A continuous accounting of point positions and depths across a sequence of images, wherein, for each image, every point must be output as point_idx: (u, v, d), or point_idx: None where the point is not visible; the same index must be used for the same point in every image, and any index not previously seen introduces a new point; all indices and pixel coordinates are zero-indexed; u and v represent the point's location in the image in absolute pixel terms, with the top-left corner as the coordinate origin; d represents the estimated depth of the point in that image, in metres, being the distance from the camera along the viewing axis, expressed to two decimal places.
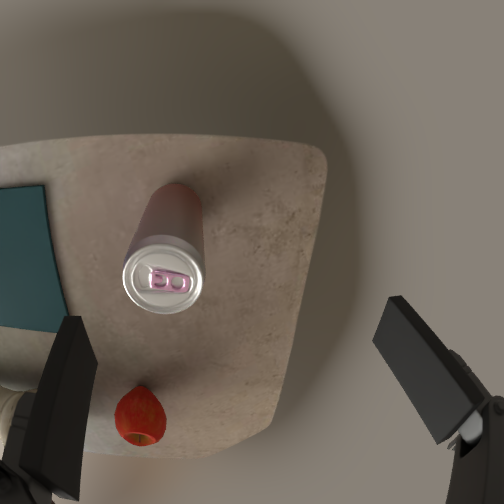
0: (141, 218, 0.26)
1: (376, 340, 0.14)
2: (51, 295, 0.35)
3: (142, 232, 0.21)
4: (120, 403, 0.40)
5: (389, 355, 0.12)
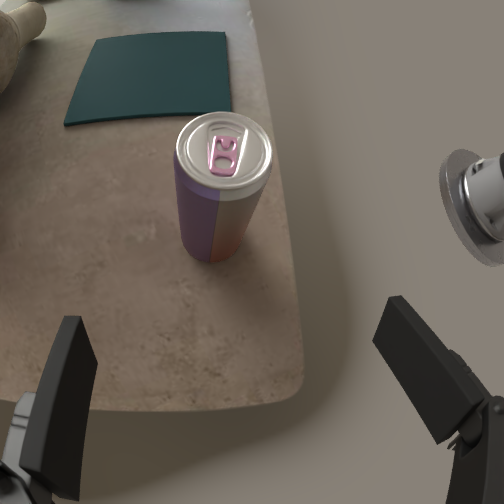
0: None
1: (376, 340, 0.14)
2: (113, 107, 0.33)
3: None
4: None
5: (389, 355, 0.12)
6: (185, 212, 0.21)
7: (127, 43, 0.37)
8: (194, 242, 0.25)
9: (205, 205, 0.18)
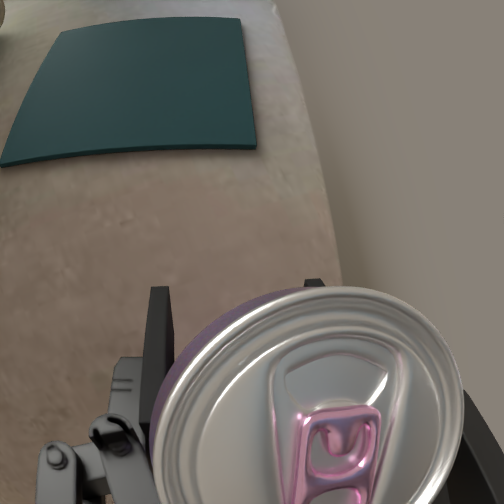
0: None
1: None
2: (68, 136, 0.20)
3: None
4: None
5: None
6: None
7: (100, 34, 0.24)
8: None
9: None
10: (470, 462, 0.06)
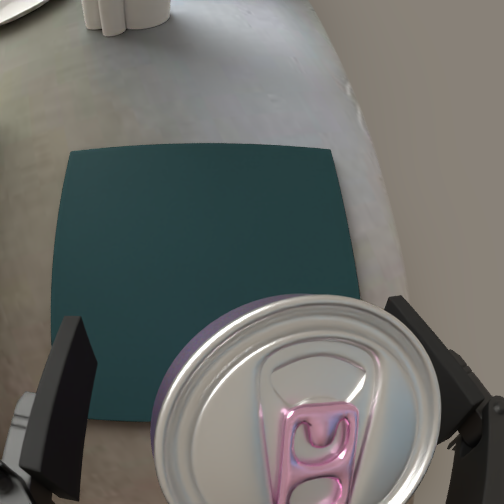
0: None
1: None
2: (151, 397, 0.17)
3: None
4: None
5: None
6: None
7: (137, 175, 0.21)
8: None
9: None
10: None
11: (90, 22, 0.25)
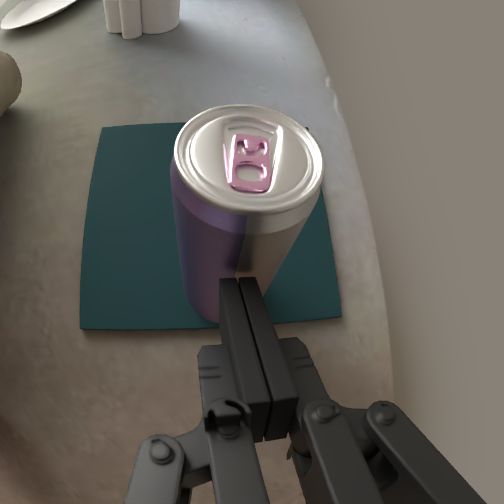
0: None
1: None
2: (159, 307, 0.23)
3: None
4: None
5: None
6: (189, 256, 0.14)
7: (156, 144, 0.27)
8: (202, 299, 0.18)
9: (220, 242, 0.11)
10: (413, 485, 0.05)
11: (111, 27, 0.32)
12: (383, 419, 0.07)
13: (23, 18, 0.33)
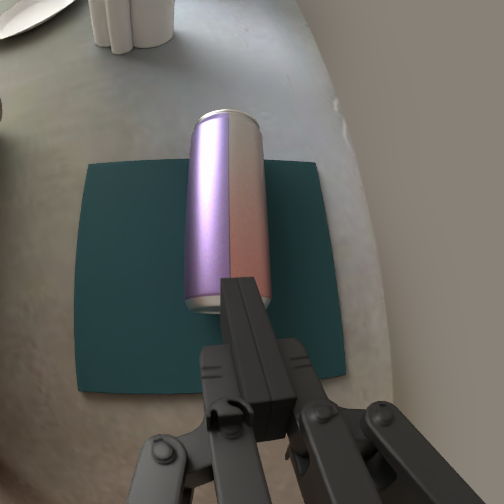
0: None
1: None
2: (159, 372, 0.21)
3: None
4: None
5: None
6: (198, 164, 0.21)
7: (147, 186, 0.25)
8: (206, 224, 0.19)
9: (218, 126, 0.21)
10: (412, 485, 0.05)
11: (99, 40, 0.30)
12: (381, 420, 0.07)
13: (10, 27, 0.30)
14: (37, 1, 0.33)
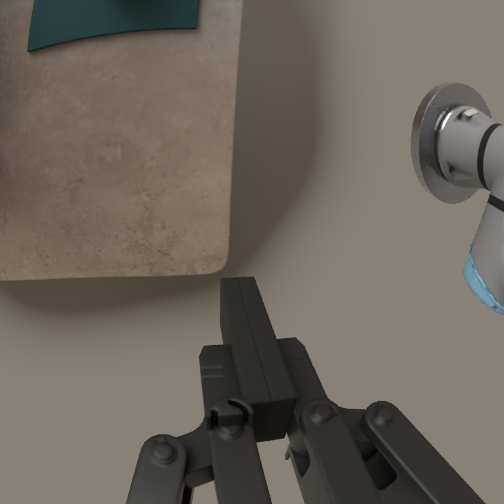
0: None
1: None
2: (74, 27, 0.24)
3: None
4: None
5: None
6: None
7: None
8: None
9: None
10: (412, 485, 0.05)
11: None
12: (381, 420, 0.07)
13: None
14: None
